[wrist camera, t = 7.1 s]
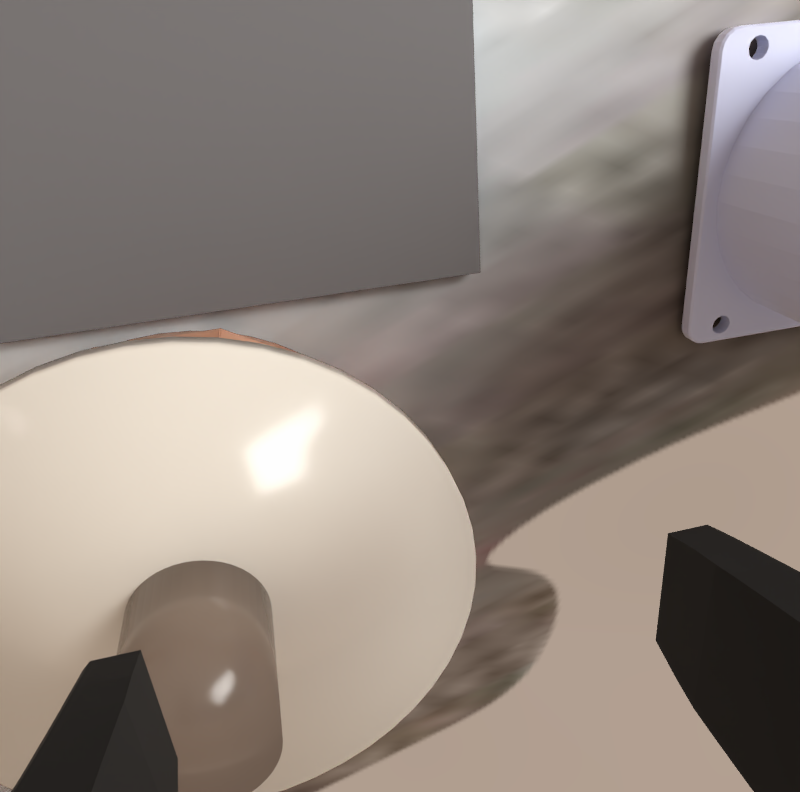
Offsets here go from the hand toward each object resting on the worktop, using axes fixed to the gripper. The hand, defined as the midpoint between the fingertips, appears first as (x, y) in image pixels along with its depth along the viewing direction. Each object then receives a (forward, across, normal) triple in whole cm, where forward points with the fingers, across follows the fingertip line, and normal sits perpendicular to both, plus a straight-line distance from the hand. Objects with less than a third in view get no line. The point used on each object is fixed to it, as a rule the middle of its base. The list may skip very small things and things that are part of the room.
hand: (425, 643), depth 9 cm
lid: (+6, +4, +4) cm, 8 cm away
